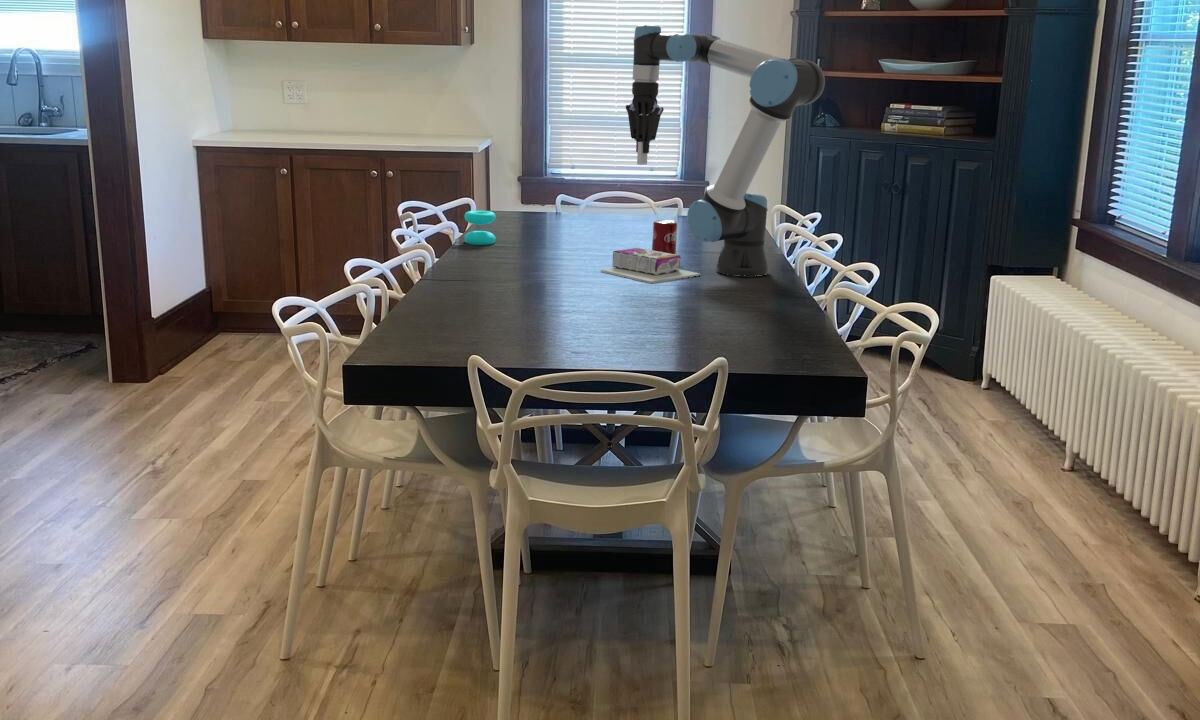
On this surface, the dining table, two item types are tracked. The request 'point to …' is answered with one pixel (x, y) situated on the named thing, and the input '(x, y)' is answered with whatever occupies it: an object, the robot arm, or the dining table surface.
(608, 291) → the dining table surface
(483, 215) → the donuts
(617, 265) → the candy bar box
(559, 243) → the dining table surface
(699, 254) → the dining table surface
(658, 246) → the soda can
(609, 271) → the mat
